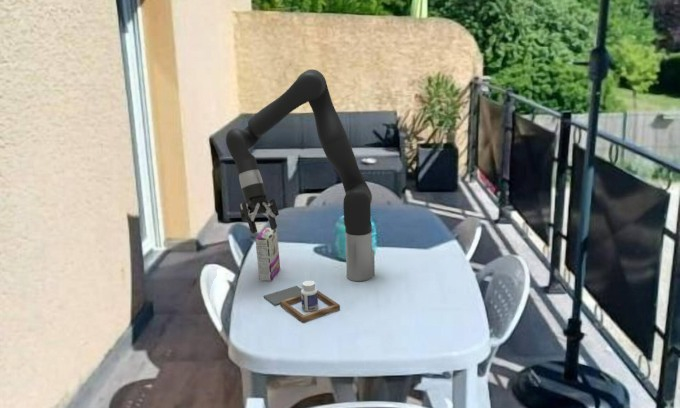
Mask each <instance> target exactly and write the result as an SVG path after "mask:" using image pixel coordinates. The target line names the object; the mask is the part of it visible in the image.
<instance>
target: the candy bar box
mask: <svg viewBox="0 0 680 408" xmlns="http://www.w3.org/2000/svg"><path fill="white" fill-rule="evenodd" d="M278 237H279V236H278V228H276V229H275V230H271V227H264V228H263V229H262V230H261V232H259V234H258V236H256V238H255V248H256V258H257V268H258V269H257V271H258V280H261V282H272V281H273V280H274V278H275V277H276V276H277V274H278V273H279V271H280V270H281V266H280V265H281V263H280V251H279V249H280V247H279V238H278Z"/></svg>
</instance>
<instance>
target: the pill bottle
mask: <svg viewBox="0 0 680 408" xmlns="http://www.w3.org/2000/svg"><path fill="white" fill-rule="evenodd" d="M301 289H302V290H301V302H300V303H301V309H302V311H305V312H314V311H317V310H318V308H319V302H318V295H317V290H318V289H317V288H316V283H315V281H313V280H304V281H303V282H302V288H301Z"/></svg>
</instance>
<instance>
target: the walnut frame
mask: <svg viewBox="0 0 680 408" xmlns="http://www.w3.org/2000/svg"><path fill="white" fill-rule="evenodd" d="M317 295H318V299H319V300H320V301H322V302H323V303H325V304H326V305H327V307H323V308H320V309H316V310H315V311H310V312H308V313H306V314H303V313H302V312H300V311H299V310H297V308H295V307H293V306H292V305H295V304H297V303H302V302H301V295H298V296H295V297H292V298H289V299H285V300H282V301H280V307H281V308H282V309H284V310H285V311H286V312H287V313H289V314H290V315H292V317H294V318H296V319H297V320H298V321H300V322H301V323H303V324H304V323H306V322H309V321H312V320H314V319H317V318H321V317H324V316H327V315H329V314H331V313H334V312H335V313H336V312H338V311H341V305H340V304H339V303H337V302H336V301H335V300H333V299H332V298H330V297H329V296H327V295H326V294H324V293H323V292H321V291H319V290H318V289H317Z"/></svg>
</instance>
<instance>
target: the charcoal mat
mask: <svg viewBox="0 0 680 408" xmlns="http://www.w3.org/2000/svg"><path fill="white" fill-rule="evenodd" d="M302 289H303V288H301V287H299V286H298V285H294V286H291V287H288V288H285V289H282V290H278V291H275V292H272V293H268V294H266V295H265V294H264V295H262V296H263V297H264V298H263V299H265V300H266V301H267V302H268V303H270V304H271V305H273V306H274V307H276V306H277V307H278V306H279V305H280V301H282V300H285V299H289V298H292V297H295V296H298V295H301V290H302Z"/></svg>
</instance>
